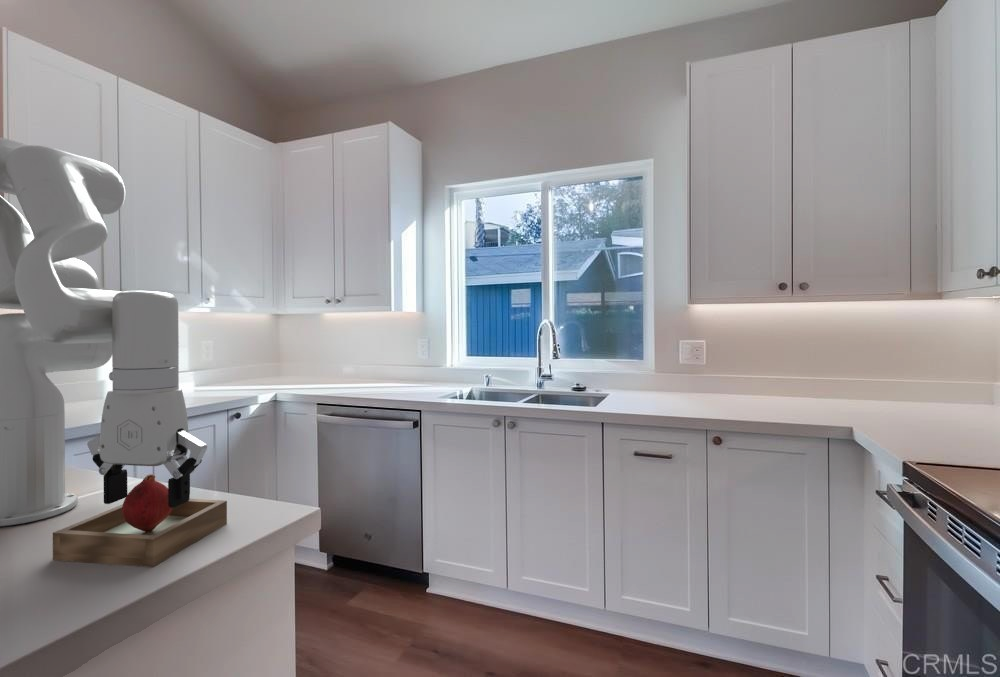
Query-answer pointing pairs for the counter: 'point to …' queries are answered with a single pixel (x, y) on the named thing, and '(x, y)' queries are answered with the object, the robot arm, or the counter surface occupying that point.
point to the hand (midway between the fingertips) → (147, 502)
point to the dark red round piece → (146, 504)
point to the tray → (138, 535)
